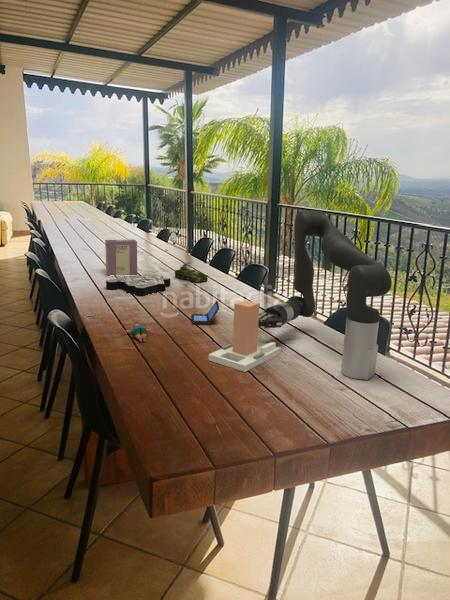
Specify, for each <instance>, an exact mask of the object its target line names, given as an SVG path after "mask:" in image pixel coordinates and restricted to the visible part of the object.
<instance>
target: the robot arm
mask: <svg viewBox="0 0 450 600" xmlns="http://www.w3.org/2000/svg"><path fill="white" fill-rule="evenodd" d="M293 225H294V226H293V227H294V228H293V233H294V254H295V269H294V270H295V272H294V280H293V289H294V290H295V291H296V292H298V293H300V294H301V295H302V296H299V295H292V296H290V297H289V298H288V299H287V300H286V301H284V302H283V303H282V302H281V303H278V304H275V305H271V306H269V307H267V308H266V309H264V311H263V312H262V313H259V323H258V328H265V329H277V328H282V326H284V325H286V324H288V323H289V322H292V321H294V320H296V319H298V318H299V316H301V317H304V318H310V317H312V316H313V315H314V314H315V311H316V299H315V296H314V289H313V287H314V277H315V267H314V264H313V261H312V259H311V257H310V255H309V253H308V250H307V248H306V237H317V238H320V239H322V240H321V244H320V246H321V247H320V249H321V252H322V254H323V255H324V257H325V258H326V259H327V260H328V261H329V262H330V263H331V264H333V265H334V266H336V267H338V268H339V269H342V270H345V271H347V272H348V275H347V284H346V299H345V300H346V303H345V304H346V305H345V307H346V308H345V309H346V321H345V331H344V339H343V349H342V356H341V357H342V358H341V367H340V368H341V369H340V373H341V374H342V375H343V376H346V377H348V378H351V379H356V380H365V381H369V380H370V379H371V378H372V377H374V376H375V375H376V366H377V359H378V351H379V344H377V341H378V333H379V332H378V331H379V325H380V317H381V316H380V315H381V313H380V311H379V310H378V309H377V308H374V307H371V306H369V305H367V298H373V297H374V298H376V297H382V296H385V295H386V294H388V293H389V292H390V290H391V288H392V283H393V282H392V277H391V274H390V272H389V271H388V269H387V268H386V267H385V266H384V265H382V264H381V263H380V262H378V261H376V260H375V259H373V258H372V257H370V256H369V255H368V254H366V253H365V252H364V251H363V250H362V249H361V248H359V246H357V244H355V243H354V242H353V241H352V240H351V239H350V238H348V237H347V235H346V234H344V233H343V232H342V231H341V230H340V229H338V227H336V225H335V224H334V223H333V222H332V220H330V218H329V216H327V214H326V213H325V212H323V211H321V210H299V211H298V212H297V213H296V214H295V217H294V223H293Z"/></svg>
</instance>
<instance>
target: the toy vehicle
mask: <svg viewBox="0 0 450 600" xmlns="http://www.w3.org/2000/svg"><path fill="white" fill-rule="evenodd" d="M188 264H190V262H187V263H184V264H183V265H182V266H180V268H179V269H175V270H174V277H175V278H176V279H177V278H178V279H177V280H182V279H183V280H182V281H187V282H189V281H190V282H191V283H201V282H207V281H208V277H209V275H208V274H204V273H203V272H201V271H197V270H195V269H190V268H188V267H187V265H188Z"/></svg>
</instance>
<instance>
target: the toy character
mask: <svg viewBox="0 0 450 600" xmlns="http://www.w3.org/2000/svg"><path fill="white" fill-rule="evenodd" d="M151 331H152V332H156V329H155V328H146V327H145V326H143V325H141V324H140V323H139V322H138V321H136V322H135V323H134V324H133V329H127V330H122V331H121V334H124V333H130V334H131V333H132V335H133V338H135V339H137V340H139V342H140V343H142V342H144V343H145V342H146V341H147V337H148V334H149V333H148V332H151Z"/></svg>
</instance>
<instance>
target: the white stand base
mask: <svg viewBox="0 0 450 600" xmlns="http://www.w3.org/2000/svg"><path fill="white" fill-rule="evenodd" d="M276 344H277V343H276V342H274V341H271V342H268V343H265V342H261V341H257V351H256V352H254V353H251V354H249V355H247V356H245V355H242V354H238V353H235V352H232V349H233V343H228V344H226V345H222V346H221V349H217V350H216V351H213V352H210V353H209V354H208V361H210V362H213V363H215V364H220V365H222V366H226V367H228V368H230V369H234V370H237V371H241V372H244V373H246V372H248V371H250V370H252V369H253V368H255V367H257V366H259V365H261V364H263V363H265V362H268V361H269V360H271V359H273V358H274V357H277V356H278V355H280V354H281V351H282V347H280V346H276Z"/></svg>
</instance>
